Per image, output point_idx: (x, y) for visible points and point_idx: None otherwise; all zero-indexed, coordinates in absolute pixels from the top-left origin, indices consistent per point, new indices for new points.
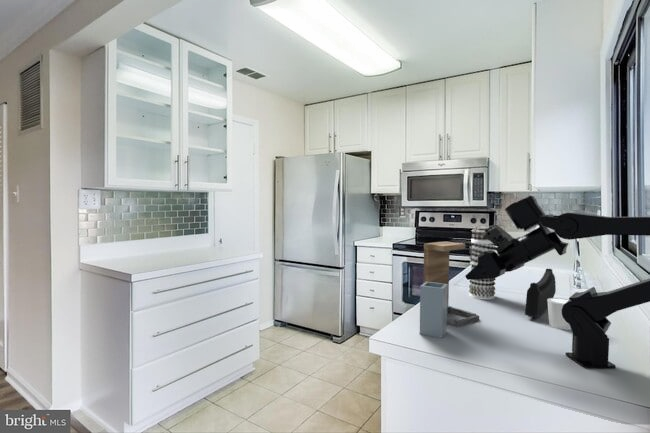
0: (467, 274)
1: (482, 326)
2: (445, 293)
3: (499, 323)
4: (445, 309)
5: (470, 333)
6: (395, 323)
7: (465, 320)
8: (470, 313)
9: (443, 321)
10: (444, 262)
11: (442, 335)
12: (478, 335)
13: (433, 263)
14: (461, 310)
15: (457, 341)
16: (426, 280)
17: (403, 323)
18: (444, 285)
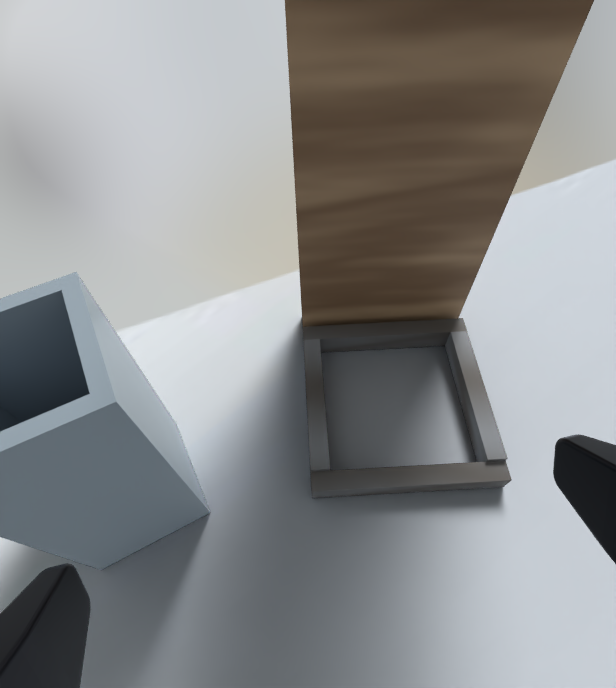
0: (5, 616)
1: (440, 569)
2: (58, 466)
3: (579, 592)
4: (122, 499)
5: (286, 608)
6: (121, 333)
7: (380, 488)
8: (481, 438)
9: (97, 539)
10: (498, 80)
11: (108, 562)
12: (297, 661)
13: (359, 81)
14: (470, 385)
15: (119, 655)
16: (295, 192)
17: (146, 347)
18: (42, 420)
